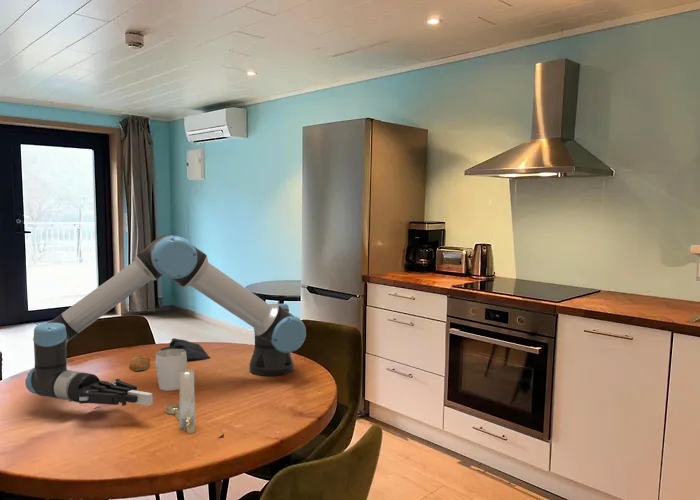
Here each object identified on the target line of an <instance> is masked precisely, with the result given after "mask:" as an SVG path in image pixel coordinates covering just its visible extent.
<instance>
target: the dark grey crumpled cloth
mask: <svg viewBox="0 0 700 500" xmlns="http://www.w3.org/2000/svg"><path fill="white" fill-rule="evenodd" d="M167 349H182V350H185V351H186V357H187V361H201V360H204V361H205V360H208V359H211V357H210V356H209V354H208V353H207V352H206V351H205V349H204V348H203V347H202V346H201V345H200V344H198V343H194V342H190V341H189V340H186V339H182V338H181V339H180V338H171V341H170V343H169V346H167V347H163V348H160V351H162V350H167Z"/></svg>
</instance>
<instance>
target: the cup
mask: <svg viewBox="0 0 700 500" xmlns="http://www.w3.org/2000/svg"><path fill="white" fill-rule="evenodd" d="M187 363H188V360H187V357H186V351H185V350H182V349H167V350H162V351H161V350H159V351H157V352H156V353H155V364H154V365H155V370H156V375H157V376H156V378H157V382H158V388H159V390H162V391H166V392H167V391H169V392H170V391H176V390H179V372H180V371H182V370H187Z"/></svg>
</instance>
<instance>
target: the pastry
mask: <svg viewBox="0 0 700 500" xmlns="http://www.w3.org/2000/svg"><path fill="white" fill-rule="evenodd" d="M150 365H151V360H150V358H149V357H148V356H146V355H144V354H138V355H136V356H134V357H133V358H131V360H130V361H129V368H130V369H131V371H133V372H138V371H146V370H147V369H148V368H149V367H150Z"/></svg>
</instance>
